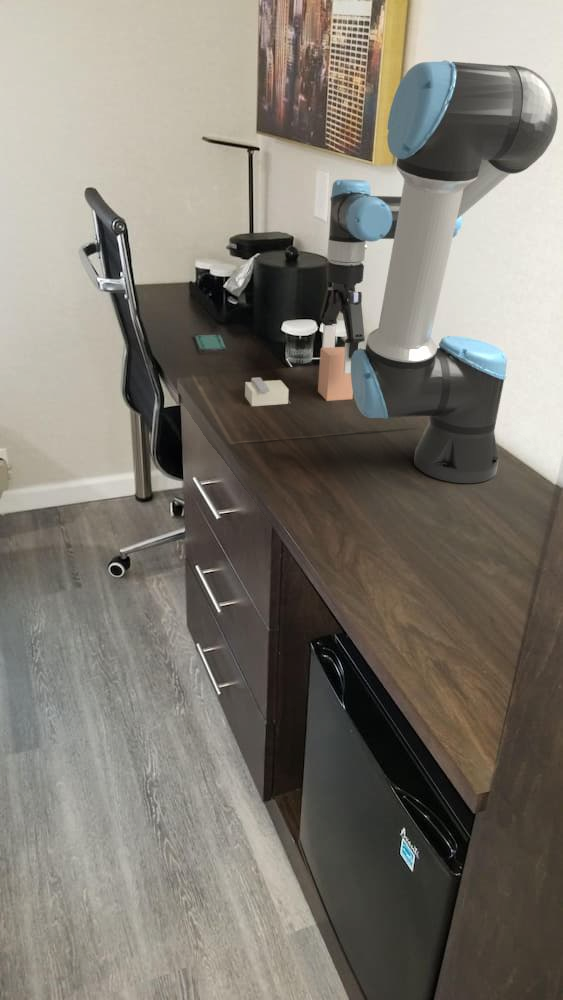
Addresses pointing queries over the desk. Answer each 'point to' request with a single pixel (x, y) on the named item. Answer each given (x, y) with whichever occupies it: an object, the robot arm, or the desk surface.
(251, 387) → the cream block
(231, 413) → the desk surface
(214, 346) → the smartphone
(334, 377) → the stub
